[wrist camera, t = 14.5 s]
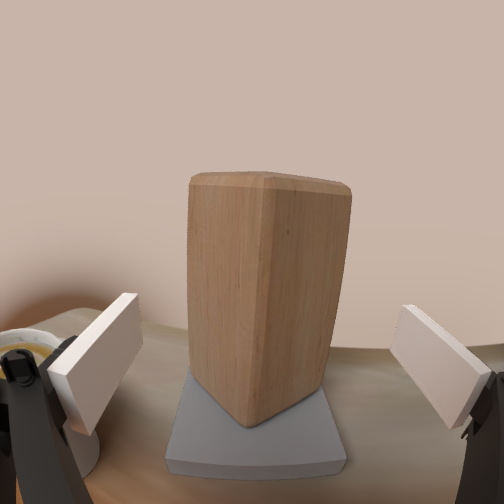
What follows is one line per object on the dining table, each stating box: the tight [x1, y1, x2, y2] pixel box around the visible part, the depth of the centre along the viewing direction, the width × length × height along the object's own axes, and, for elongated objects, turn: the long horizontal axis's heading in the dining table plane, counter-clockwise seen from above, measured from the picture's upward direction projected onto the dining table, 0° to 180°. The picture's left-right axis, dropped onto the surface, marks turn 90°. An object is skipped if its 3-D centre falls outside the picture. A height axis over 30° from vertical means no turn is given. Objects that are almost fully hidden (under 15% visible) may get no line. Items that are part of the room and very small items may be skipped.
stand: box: [165, 366, 347, 480], centre depth 24 cm, size 14×14×2 cm
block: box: [187, 172, 352, 428], centre depth 24 cm, size 10×10×20 cm
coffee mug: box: [0, 329, 100, 479], centre depth 16 cm, size 13×10×10 cm
